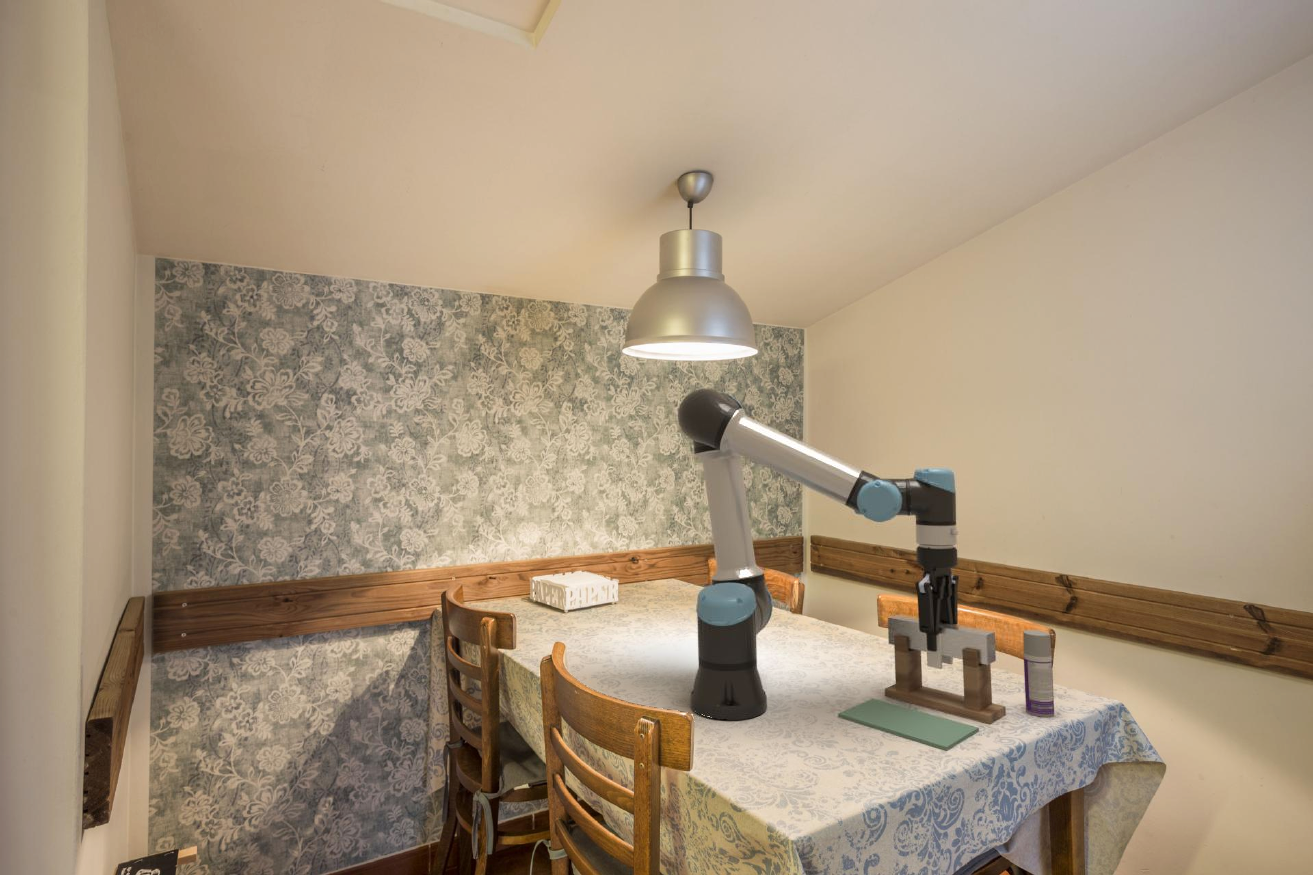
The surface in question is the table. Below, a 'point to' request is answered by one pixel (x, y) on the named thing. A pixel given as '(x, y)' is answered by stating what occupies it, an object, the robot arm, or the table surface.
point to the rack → (968, 706)
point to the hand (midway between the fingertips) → (939, 664)
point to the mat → (909, 723)
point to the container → (1038, 673)
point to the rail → (945, 638)
